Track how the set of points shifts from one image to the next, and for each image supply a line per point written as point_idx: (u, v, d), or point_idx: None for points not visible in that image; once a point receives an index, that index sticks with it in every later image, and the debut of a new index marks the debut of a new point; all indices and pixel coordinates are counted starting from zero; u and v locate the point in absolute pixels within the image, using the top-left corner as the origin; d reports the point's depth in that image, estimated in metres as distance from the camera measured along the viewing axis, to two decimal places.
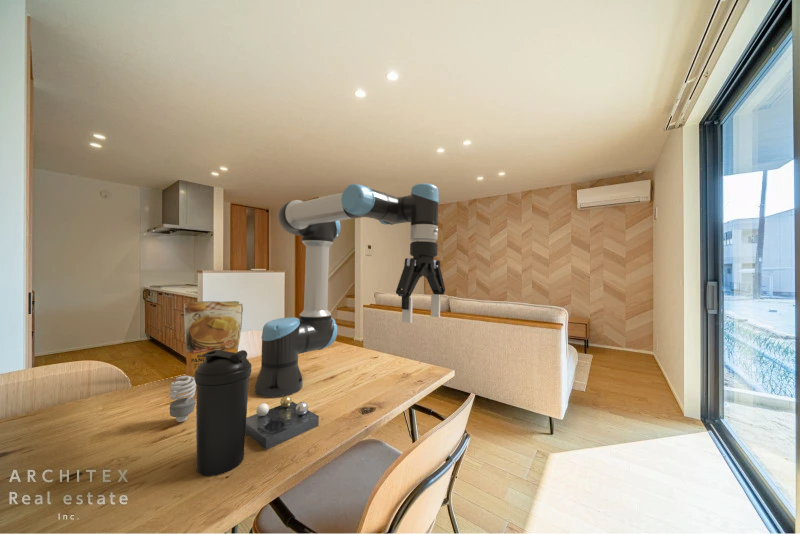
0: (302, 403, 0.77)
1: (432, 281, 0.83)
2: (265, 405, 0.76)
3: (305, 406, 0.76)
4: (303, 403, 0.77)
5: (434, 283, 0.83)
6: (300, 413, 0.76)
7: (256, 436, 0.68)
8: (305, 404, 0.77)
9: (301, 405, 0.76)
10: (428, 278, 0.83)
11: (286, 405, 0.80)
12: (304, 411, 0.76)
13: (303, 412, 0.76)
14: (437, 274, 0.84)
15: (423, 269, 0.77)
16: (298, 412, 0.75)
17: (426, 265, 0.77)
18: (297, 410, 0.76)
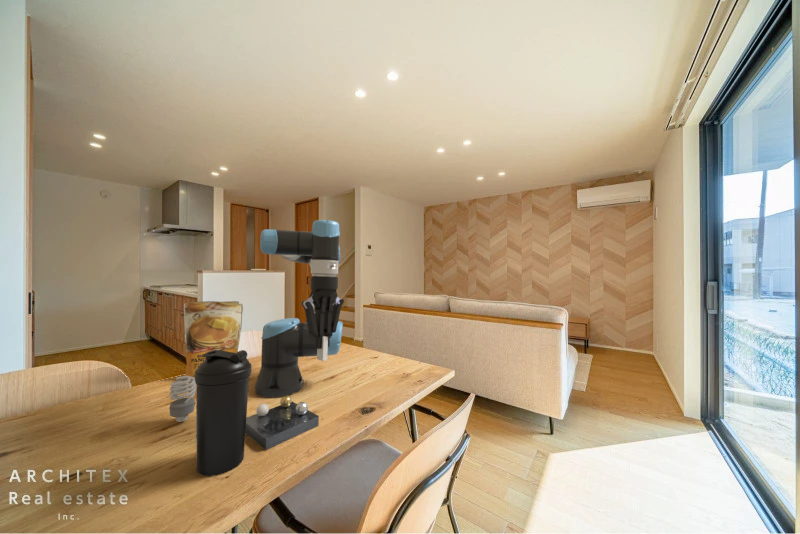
0: (302, 403, 0.77)
1: (326, 317, 0.82)
2: (265, 405, 0.76)
3: (305, 406, 0.76)
4: (303, 403, 0.77)
5: (326, 319, 0.82)
6: (300, 413, 0.76)
7: (256, 436, 0.68)
8: (305, 404, 0.77)
9: (301, 405, 0.76)
10: (324, 313, 0.83)
11: (286, 405, 0.80)
12: (304, 411, 0.76)
13: (303, 412, 0.76)
14: (335, 311, 0.85)
15: (323, 305, 0.80)
16: (298, 412, 0.75)
17: (324, 299, 0.80)
18: (297, 410, 0.76)
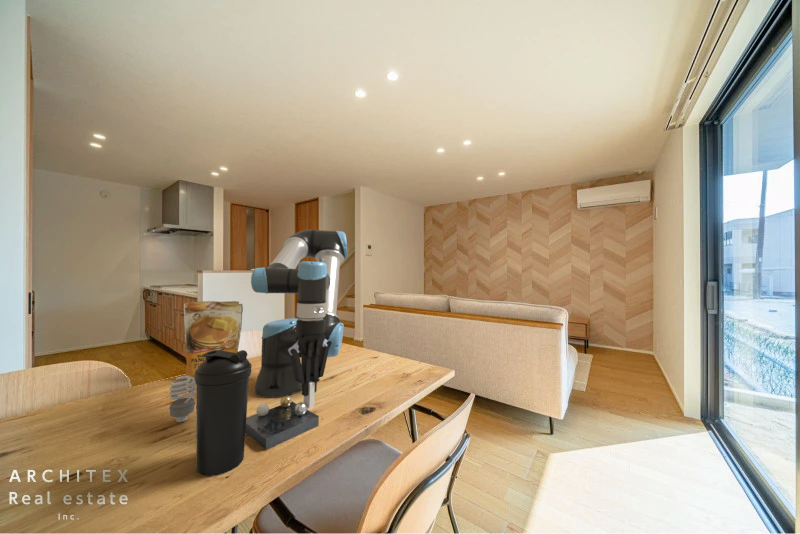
0: (300, 404, 0.76)
1: (312, 361, 0.79)
2: (265, 405, 0.76)
3: (303, 407, 0.76)
4: (301, 404, 0.76)
5: (313, 364, 0.79)
6: (299, 414, 0.75)
7: (256, 436, 0.68)
8: (303, 405, 0.76)
9: (299, 407, 0.75)
10: (311, 357, 0.80)
11: (286, 405, 0.80)
12: (303, 412, 0.76)
13: (302, 413, 0.76)
14: (322, 354, 0.81)
15: (309, 350, 0.77)
16: (297, 413, 0.75)
17: (310, 344, 0.77)
18: (296, 411, 0.75)
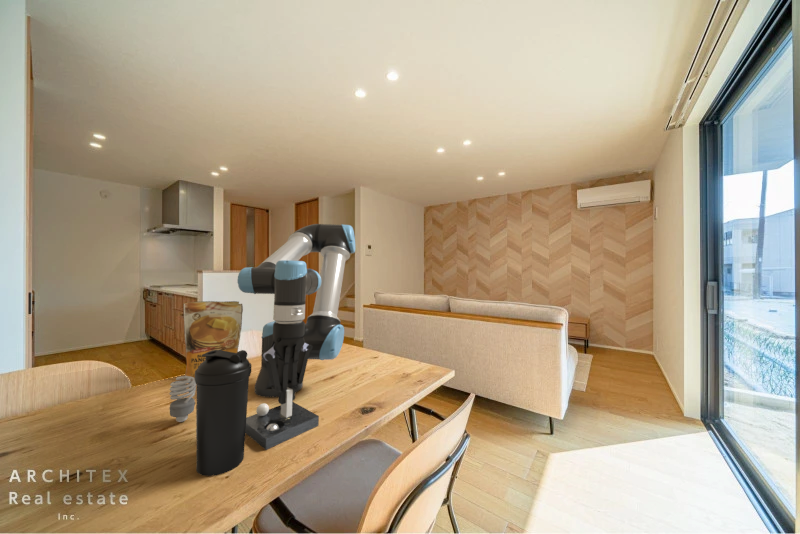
0: None
1: (291, 367, 0.74)
2: (265, 405, 0.76)
3: None
4: (278, 426, 0.71)
5: (291, 370, 0.74)
6: None
7: (256, 436, 0.68)
8: None
9: (276, 425, 0.71)
10: (289, 362, 0.75)
11: None
12: None
13: None
14: (302, 359, 0.76)
15: (286, 355, 0.72)
16: (269, 428, 0.69)
17: (287, 349, 0.72)
18: (270, 426, 0.70)
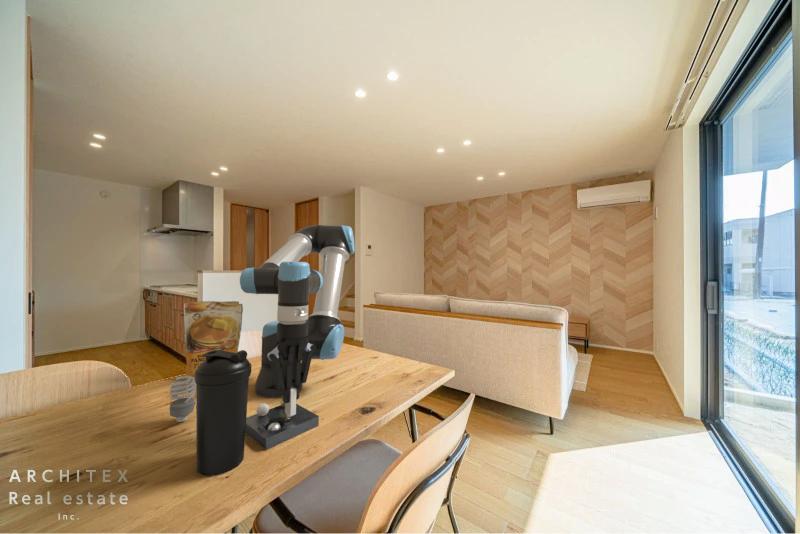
0: (280, 426, 0.72)
1: (294, 367, 0.75)
2: (265, 405, 0.76)
3: None
4: (280, 427, 0.72)
5: (295, 370, 0.75)
6: (272, 429, 0.70)
7: (256, 436, 0.68)
8: None
9: (279, 425, 0.71)
10: (293, 362, 0.76)
11: None
12: None
13: None
14: (306, 359, 0.77)
15: (290, 355, 0.73)
16: (272, 426, 0.70)
17: (291, 349, 0.72)
18: (273, 424, 0.71)
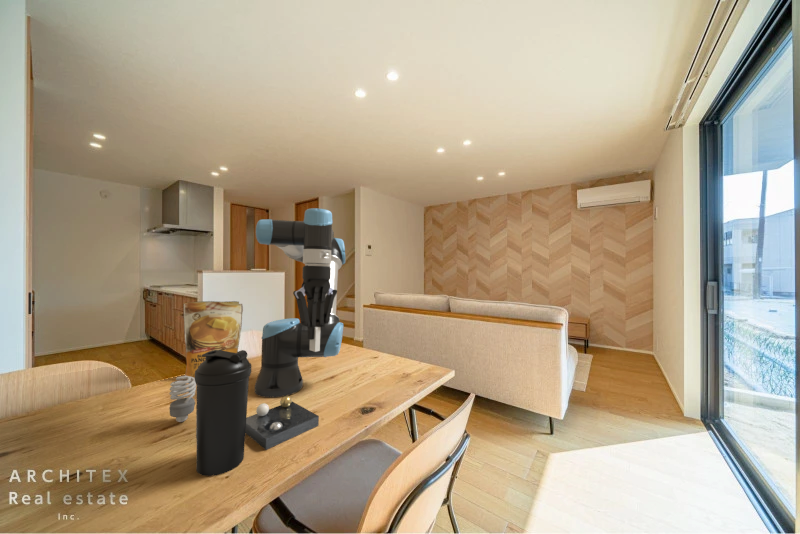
0: None
1: (318, 307, 0.81)
2: (265, 405, 0.76)
3: None
4: None
5: (319, 310, 0.81)
6: (275, 426, 0.70)
7: (256, 436, 0.68)
8: None
9: (282, 425, 0.72)
10: (316, 303, 0.82)
11: (286, 405, 0.80)
12: None
13: (277, 429, 0.70)
14: (328, 302, 0.83)
15: (315, 295, 0.79)
16: (276, 424, 0.71)
17: (316, 289, 0.78)
18: (277, 422, 0.71)
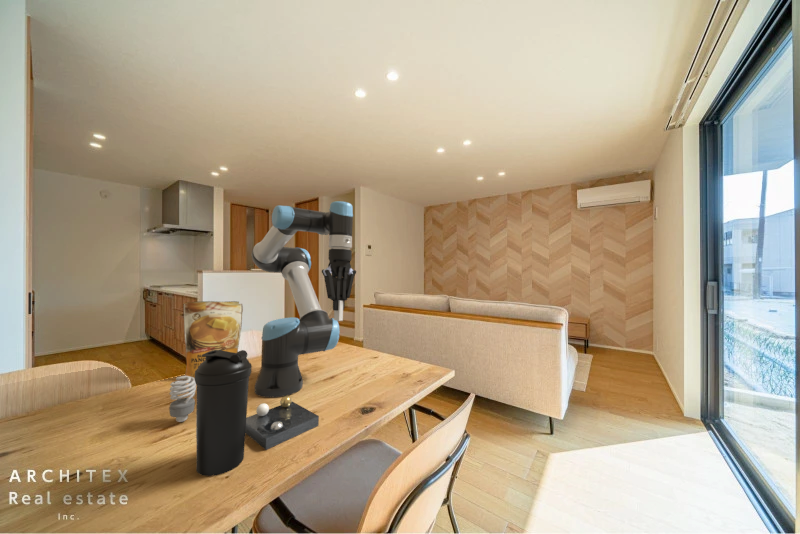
0: None
1: (341, 284, 0.97)
2: (265, 405, 0.76)
3: None
4: None
5: (342, 286, 0.97)
6: (277, 425, 0.71)
7: (256, 436, 0.68)
8: None
9: (283, 425, 0.72)
10: (339, 281, 0.97)
11: (286, 405, 0.80)
12: None
13: (278, 428, 0.70)
14: (349, 280, 0.99)
15: (339, 273, 0.94)
16: (278, 423, 0.71)
17: (340, 268, 0.94)
18: (279, 422, 0.72)
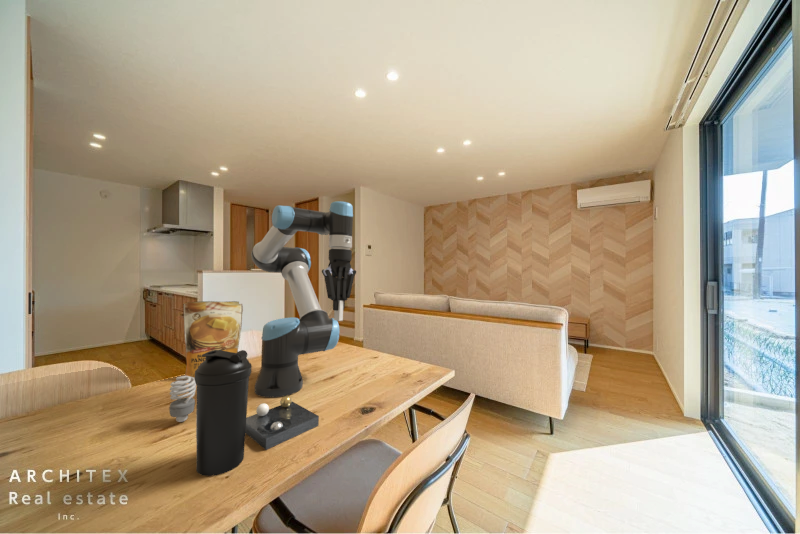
0: None
1: (341, 284, 0.97)
2: (265, 405, 0.76)
3: None
4: None
5: (342, 286, 0.97)
6: (277, 425, 0.71)
7: (256, 436, 0.68)
8: None
9: None
10: (340, 281, 0.97)
11: (286, 405, 0.80)
12: None
13: None
14: (349, 280, 0.99)
15: (339, 273, 0.94)
16: (277, 423, 0.71)
17: (340, 268, 0.94)
18: (279, 422, 0.72)
